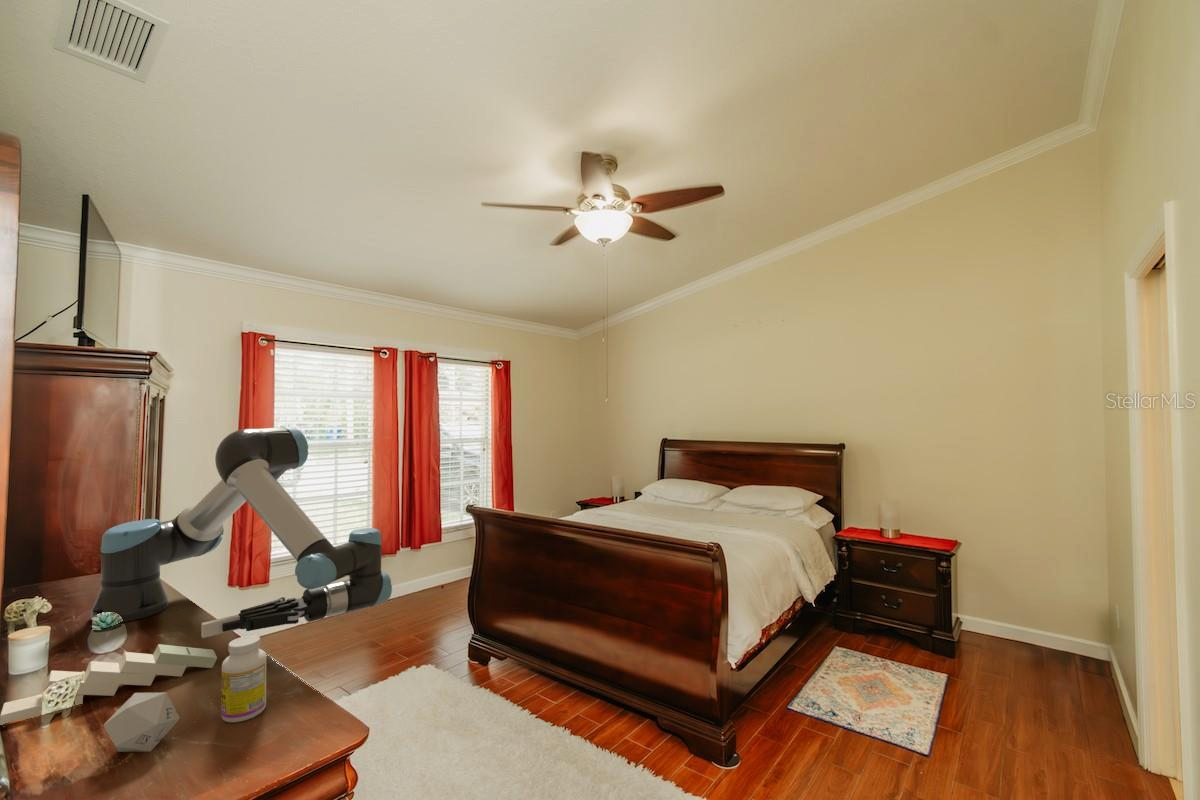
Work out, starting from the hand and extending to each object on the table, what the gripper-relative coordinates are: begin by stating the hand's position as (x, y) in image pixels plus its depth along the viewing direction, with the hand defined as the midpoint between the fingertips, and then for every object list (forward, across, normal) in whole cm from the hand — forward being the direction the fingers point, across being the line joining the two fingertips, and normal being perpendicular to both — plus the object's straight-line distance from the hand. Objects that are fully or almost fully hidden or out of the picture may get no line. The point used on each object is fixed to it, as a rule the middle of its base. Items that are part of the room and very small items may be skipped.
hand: (202, 630), depth 110 cm
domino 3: (+3, 0, -6) cm, 7 cm away
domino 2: (+13, 0, -6) cm, 15 cm away
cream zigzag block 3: (+8, 0, -7) cm, 10 cm away
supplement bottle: (-3, -26, -8) cm, 28 cm away
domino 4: (-2, 0, -6) cm, 7 cm away
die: (+11, -26, -8) cm, 29 cm away
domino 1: (+18, 0, -7) cm, 19 cm away
